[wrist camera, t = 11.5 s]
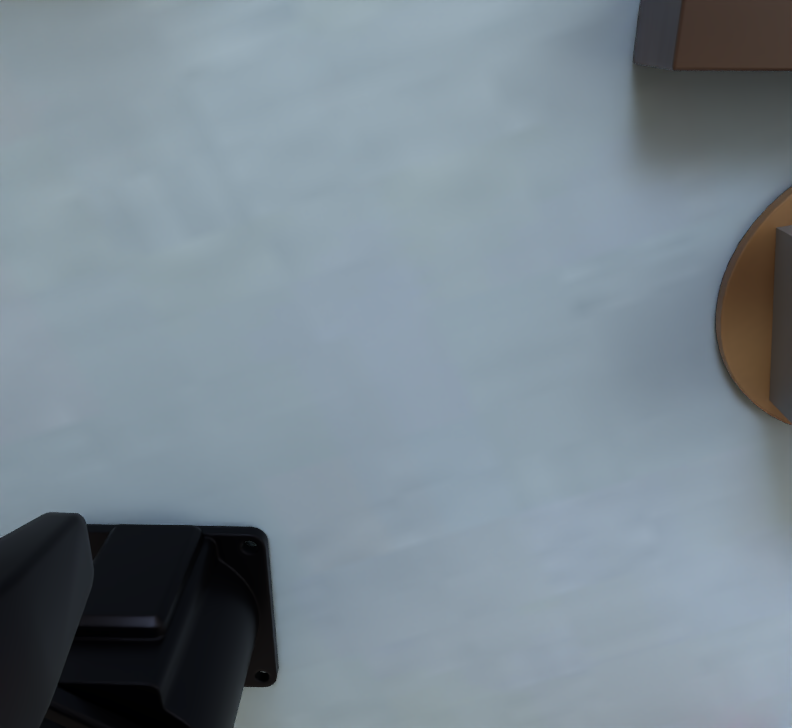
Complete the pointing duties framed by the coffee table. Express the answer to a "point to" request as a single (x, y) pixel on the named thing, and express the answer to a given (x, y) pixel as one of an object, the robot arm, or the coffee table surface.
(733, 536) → the coffee table surface
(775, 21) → the holder
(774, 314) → the dice cube
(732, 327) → the coaster
